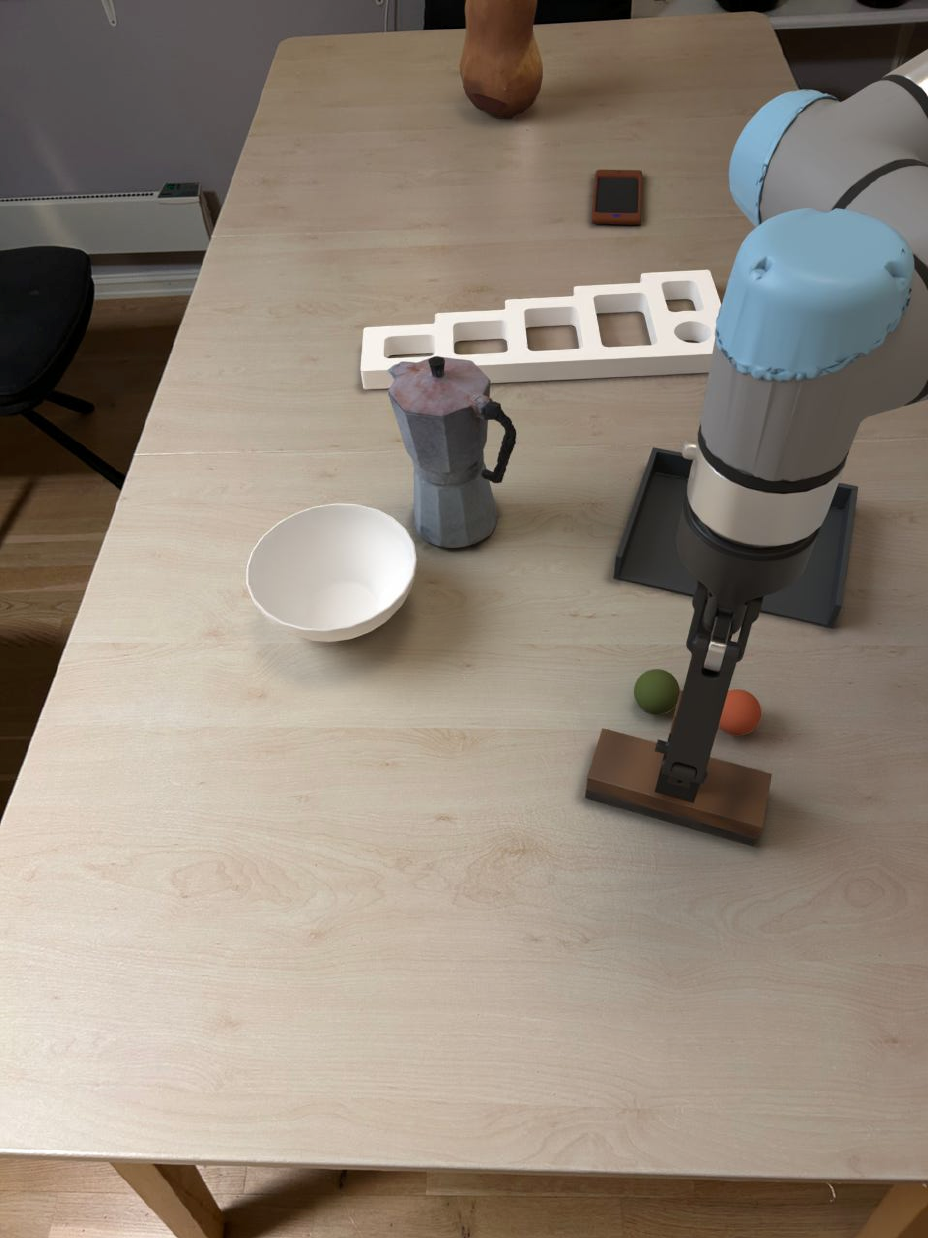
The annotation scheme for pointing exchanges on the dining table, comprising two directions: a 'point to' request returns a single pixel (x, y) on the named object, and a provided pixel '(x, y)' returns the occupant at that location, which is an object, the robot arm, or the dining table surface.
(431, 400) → the moka pot
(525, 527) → the dining table surface
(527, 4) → the butternut squash
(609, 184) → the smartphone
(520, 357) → the holder
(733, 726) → the ball
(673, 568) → the dustpan
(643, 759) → the brush
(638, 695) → the ball
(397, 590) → the bowl
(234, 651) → the dining table surface
